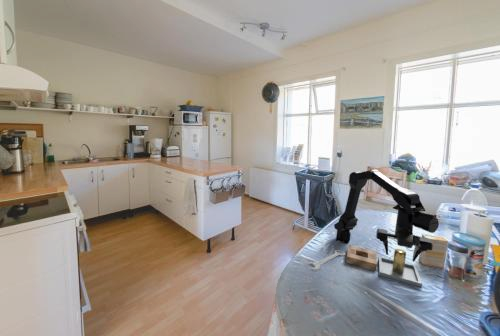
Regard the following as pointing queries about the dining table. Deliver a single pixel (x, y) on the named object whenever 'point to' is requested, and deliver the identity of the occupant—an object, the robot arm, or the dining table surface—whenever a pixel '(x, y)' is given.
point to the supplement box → (434, 252)
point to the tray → (407, 277)
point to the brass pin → (399, 261)
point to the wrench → (325, 260)
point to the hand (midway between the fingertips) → (399, 257)
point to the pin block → (362, 257)
